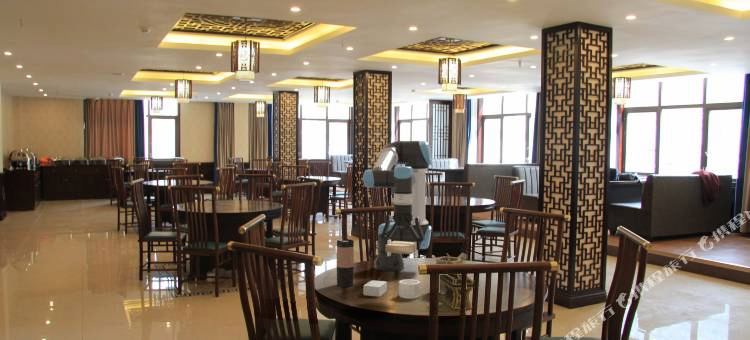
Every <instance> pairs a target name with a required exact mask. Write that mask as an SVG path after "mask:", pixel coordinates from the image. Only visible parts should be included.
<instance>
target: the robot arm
mask: <svg viewBox="0 0 750 340" xmlns="http://www.w3.org/2000/svg"><path fill="white" fill-rule="evenodd" d="M432 160H433V159H432V151H431V146H430V144H429V142H428V141H424V140H423V141H422V140H398V141H397V140H395V141H392V142H390V143H388V144H386V145H384V147H382V148H381V150H380V151H379V153H378V159H377V161H376V162H375V164H374V166H373V167H372V169H366V170H365V171H364V172H363V177H362V179H363V180H362V181H363V185H364V187H366V188H389V189H391V188H392V189H393V203H394V205H393V215H390V214H388V215H387V216H386V217H385V218H386V219H385V220H386V221H385V222H384V223H381V224H380V225H379V226H378V230H377V231H378V233H377V236H378V237H377V239H378V240H377V242H378V243H377V245H378V246H377V248H378V250H377V251H378V252H377V253H378V254H377V256H376V259H375V261H374V269H375V270H378V271H382V272H399V271H400V272H401V271H403V270H404V269H405V262H404V259H403V256H402V255H403V254H402V253H389V252H385V248H386V244H389V243H391V242H393V241H404V242H414V253H413V255H414V259H417V258H419V251H421V250H425V249H426V250H427V249H428V248H429V246H430V243H431V242H430V241H431V235H432V234H431V233H432V226H431V225H429V221H428V220H427V219H426V172H427V171H428V169H430V167H429V166H431V165H432ZM395 165H402V166H395ZM403 165H405V166H403ZM393 166H395V167H394V170H393V169H392V168H393ZM392 220H393V221H392Z"/></svg>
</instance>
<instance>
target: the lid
mask: <svg viewBox="0 0 750 340" xmlns="http://www.w3.org/2000/svg"><path fill="white" fill-rule="evenodd" d="M385 252H389V253H401V255H403V254H404V255H405V254H406V255H412V254H414V242H404V241H393V242H391V243H389V244H386V248H385Z"/></svg>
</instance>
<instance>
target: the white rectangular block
mask: <svg viewBox="0 0 750 340" xmlns="http://www.w3.org/2000/svg"><path fill="white" fill-rule="evenodd" d="M387 289H388V281H384V280H374V279H372V280H369V281H368V282H367V283H365V284H364V285H363V296H370V297H379V298H380V297H381V296H383V294H385V293H386V292H387V291H388V290H387Z"/></svg>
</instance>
